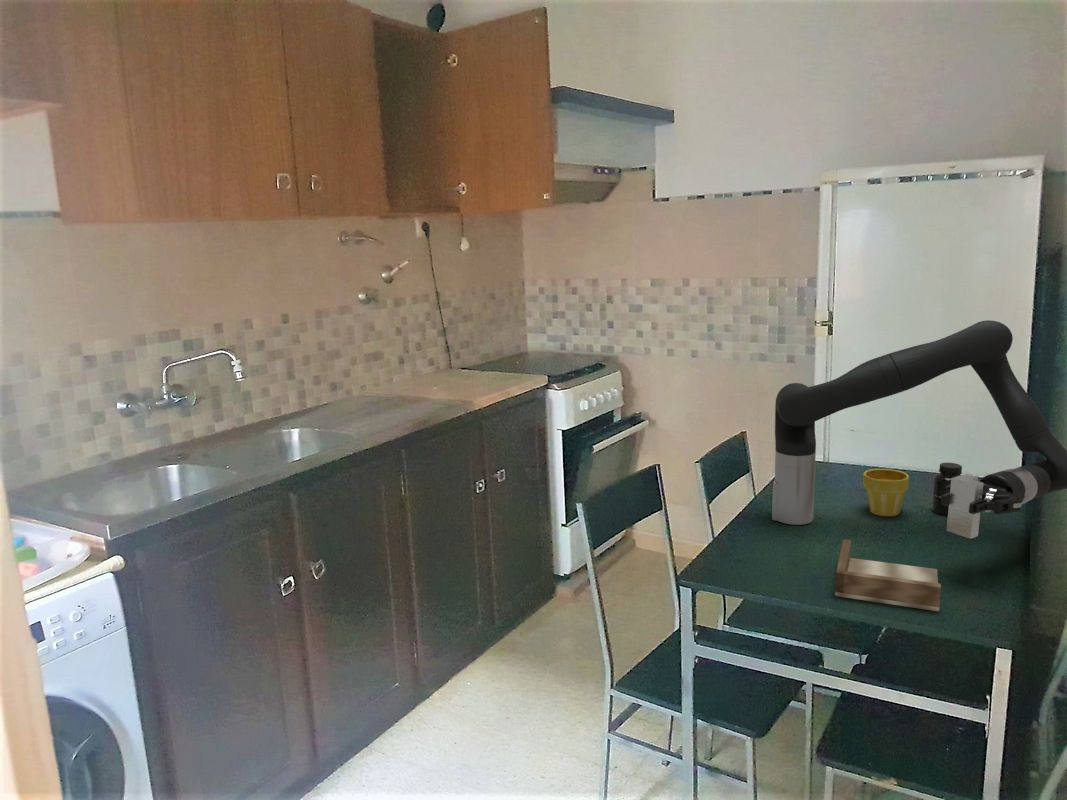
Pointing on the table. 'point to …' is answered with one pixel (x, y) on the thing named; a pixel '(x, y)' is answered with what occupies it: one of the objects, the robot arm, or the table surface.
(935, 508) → the supplement bottle
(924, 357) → the robot arm
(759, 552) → the table surface
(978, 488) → the bracket
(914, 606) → the wooden tray
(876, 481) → the plant pot
